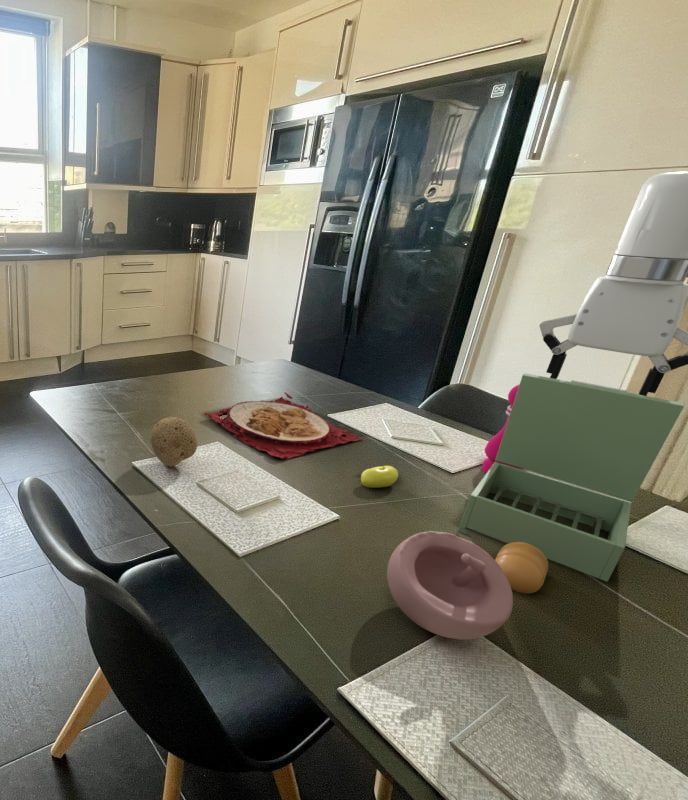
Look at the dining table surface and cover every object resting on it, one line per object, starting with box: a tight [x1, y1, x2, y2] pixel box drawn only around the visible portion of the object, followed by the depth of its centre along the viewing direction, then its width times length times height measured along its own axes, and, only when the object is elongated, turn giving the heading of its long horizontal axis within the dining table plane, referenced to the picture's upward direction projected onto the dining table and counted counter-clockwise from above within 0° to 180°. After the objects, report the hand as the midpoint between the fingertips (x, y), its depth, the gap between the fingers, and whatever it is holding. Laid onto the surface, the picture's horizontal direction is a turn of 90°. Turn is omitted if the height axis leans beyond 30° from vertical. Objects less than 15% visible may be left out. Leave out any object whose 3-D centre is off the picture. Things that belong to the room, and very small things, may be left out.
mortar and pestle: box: [386, 530, 514, 640], centre depth 58 cm, size 12×12×12 cm
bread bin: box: [457, 462, 633, 583], centre depth 75 cm, size 17×17×7 cm
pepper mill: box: [481, 383, 525, 474], centre depth 91 cm, size 7×7×20 cm
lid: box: [496, 372, 686, 502], centre depth 75 cm, size 17×17×5 cm
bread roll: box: [494, 542, 549, 595], centre depth 65 cm, size 9×5×5 cm, turn 131°
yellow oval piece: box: [360, 465, 399, 489], centre depth 89 cm, size 4×8×4 cm, turn 106°
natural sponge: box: [149, 416, 198, 468], centre depth 94 cm, size 9×9×10 cm
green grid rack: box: [492, 485, 605, 537], centre depth 76 cm, size 14×13×3 cm
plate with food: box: [204, 391, 363, 460], centre depth 112 cm, size 24×26×4 cm
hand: (595, 386), depth 73 cm, fingers open, 9 cm apart
